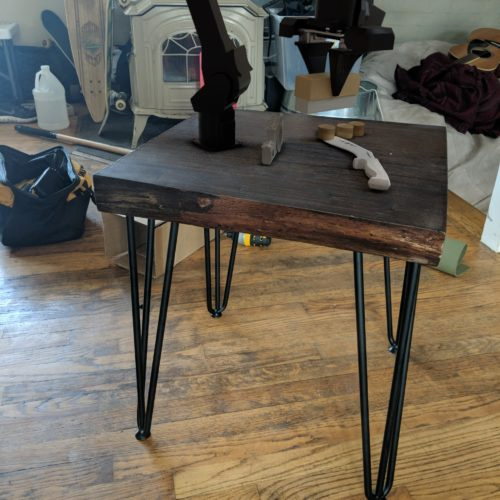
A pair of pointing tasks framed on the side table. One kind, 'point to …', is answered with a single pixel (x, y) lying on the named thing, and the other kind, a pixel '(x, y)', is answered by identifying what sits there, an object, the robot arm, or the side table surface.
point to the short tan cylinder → (344, 131)
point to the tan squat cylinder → (326, 132)
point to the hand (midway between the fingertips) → (326, 93)
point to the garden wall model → (273, 138)
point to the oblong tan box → (324, 93)
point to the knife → (364, 163)
